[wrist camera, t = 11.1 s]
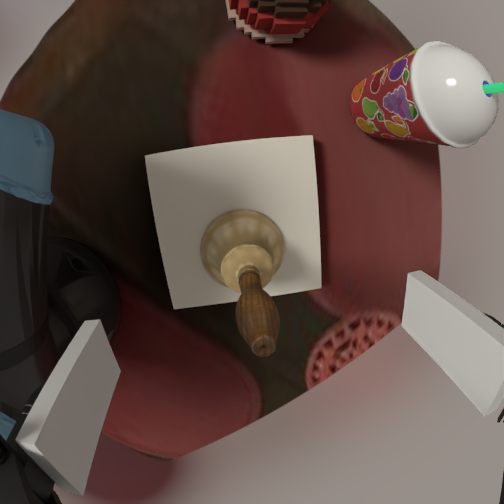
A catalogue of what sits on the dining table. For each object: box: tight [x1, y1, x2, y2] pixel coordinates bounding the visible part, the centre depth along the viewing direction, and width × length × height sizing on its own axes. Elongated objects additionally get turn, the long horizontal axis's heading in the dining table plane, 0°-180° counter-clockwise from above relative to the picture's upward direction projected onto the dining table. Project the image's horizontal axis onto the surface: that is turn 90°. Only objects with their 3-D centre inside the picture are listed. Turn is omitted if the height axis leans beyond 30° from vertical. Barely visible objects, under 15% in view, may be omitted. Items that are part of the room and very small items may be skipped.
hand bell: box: [200, 209, 285, 357], centre depth 22 cm, size 8×8×16 cm
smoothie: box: [350, 41, 504, 148], centre depth 19 cm, size 8×8×20 cm
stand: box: [145, 135, 321, 309], centre depth 30 cm, size 16×16×2 cm
